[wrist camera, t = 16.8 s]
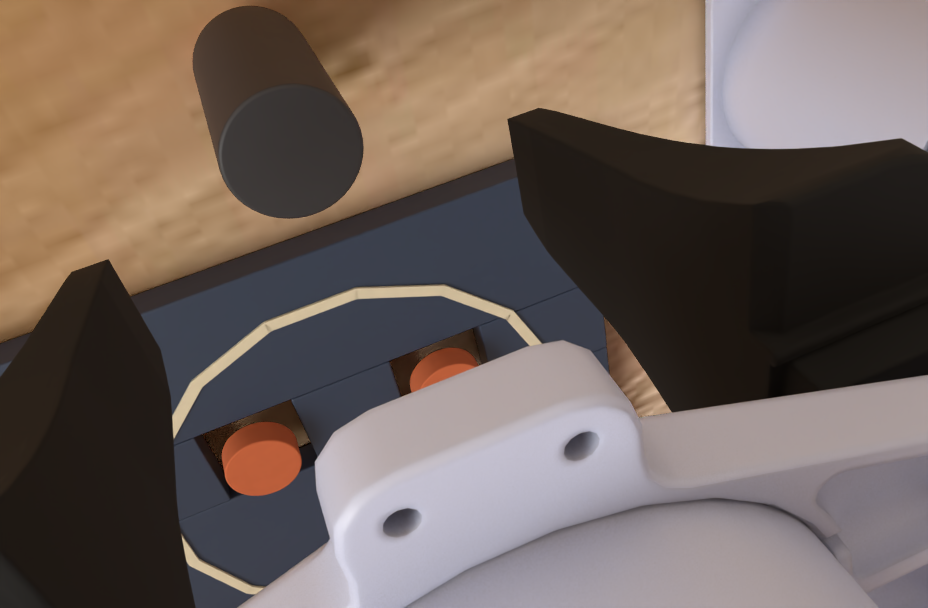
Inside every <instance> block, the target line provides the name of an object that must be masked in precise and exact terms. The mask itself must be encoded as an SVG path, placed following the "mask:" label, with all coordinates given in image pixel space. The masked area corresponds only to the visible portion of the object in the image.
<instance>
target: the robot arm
mask: <svg viewBox="0 0 928 608" xmlns="http://www.w3.org/2000/svg"><path fill="white" fill-rule="evenodd" d="M705 48H706V145H701V144H692V143H685V142H678V141H672V140H667V139H662V138H657V137H652V136H647V135H643V134H638V133H634V132H630V131H626V130H622V129H618V128H614V127H611V126H607V125H603V124H600V123H596V122H592V121H589V120H585V119H582V118H578V117H575V116H571V115H568V114H564V113H560V112H556V111H552V110H548V109H542V108H538V109H535V110H532V111H529V112H526V113H523V114H520V115H518V116H515V117H512V118H509V119H508V125H509V131H510V136H511V142H512V148H513V154H514V160H515V166H516V172H517V178H518V183H519V189H520V195H521V201H522V207H523V213H524V215H525V217H526V219H527V220H528V222H529V224H530V225H531V227H532V229H533V230H534V232H535V233H536V235H537V237H538V238H539V240H540V241H541V243H542V244H543V246H544V247H545V249H546V250H547V252H548V253H549V254H550V255H551V257H552V258H553V259H554V260H555V261H556V263H557V264H558V265H559V266H560V267H561V268H562V269H563V271H564V272H565V273H566V274H567V275H568V276H569V277H570V279H571V280H572V281H573V282H574V283H575V284H576V285H577V287H578V288H579V289H580V290H581V291H582V292H583V293H584V294H585V296H586V297H587V298H588V299H589V300H590V301H591V302H592V303H593V305H594V306H595V307H596V308H597V309H598V310H599V311H600V312H601V314H602V315H603V316H604V317H605V318H606V319H607V320H608V321H609V323H610V324H611V325H612V326H613V327H614V329H615V330H616V331H617V332H618V334H619V335H620V336H621V337H622V339H623V340H624V341H625V343H626V344H627V345H628V347H629V348H630V350H631V351H632V353H633V354H634V356H635V357H636V359H637V360H638V362H639V363H640V364H641V366H642V367H643V369H644V370H645V372H646V373H647V375H648V376H649V378H650V379H651V381H652V382H653V384H654V385H655V387H656V388H657V390H658V392H659V393H660V395H661V396H662V398H663V399H664V401H665V402H666V404H667V405H668V407H669V409H670V410H671V412H672V413H666V414H659V415H653V416H646V417H639V418H638V416H637V414H636V412H635V410H634V408H633V406H632V404H631V402H630V401H629V399H628V398H627V397H626V396H625V394H624V393H623V392H622V390H621V389H620V388H619V387H618V385H617V384H616V383H615V381H614V380H613V379H612V378H611V376H610V375H609V374H608V372H607V371H606V370H605V369H604V367H603V366H602V365H601V363H600V362H599V361H598V360H597V358H596V357H595V356H594V354H593V353H592V352H591V351H590V350H589V349H586V348H583V347H580V346H577V345H575V344H572V343H569V342H566V341H564V340H561V341H555V342H550V343H544V344H539V345H533V346H527V347H525V348H522V349H520V350H517V351H515V352H512V353H510V354H507V355H505V356H502V357H500V358H497V359H495V360H492V361H490V362H487V363H485V364H482V365H480V366H477V367H475V368H472V369H470V370H467V371H465V372H462V373H460V374H457V375H455V376H452V377H450V378H447V379H445V380H442V381H440V382H437V383H435V384H432V385H430V386H427V387H425V388H422V389H420V390H417V391H415V392H412V393H410V394H407V395H405V396H402V397H400V398H397V399H395V400H392V401H390V402H387V403H385V404H382V405H380V406H377V407H375V408H372V409H370V410H368V411H366V412H365V413H363V414H361V415H360V416H358V417H357V418H355V419H354V420H352V421H351V422H349V423H347V424H346V425H344V426H343V427H341V428H340V429H338V430H336V431H335V432H334V433H333V434H332V436H331V437H330V439H329V440H328V442H327V444H326V445H325V447H324V448H323V450H322V451H321V453H320V455H319V456H318V458H317V459H316V461H315V475H316V490H317V494H318V498H319V501H320V505H321V508H322V512H323V515H324V519H325V522H326V526H327V529H328V533H329V536H330V539H329V541H328V542H327V543H325V544H324V545H323V546H321V547H320V548H319V549H317V550H316V551H314V552H313V553H312V554H310V555H309V556H308V557H306V558H305V559H303V560H302V561H301V562H299V563H298V564H297V565H295V566H294V567H292V568H291V569H290V570H288V571H287V572H286V573H284V574H283V575H281V576H280V577H279V578H277V579H276V580H275V581H273V582H272V583H270V584H269V585H268V586H266V587H265V588H264V589H262V590H261V591H259V592H258V593H257V594H255V595H254V596H253V597H251V598H250V599H248V600H247V601H246V602H244V603H243V604H242V605H240V606H239V607H237V608H928V0H705ZM0 608H196V607H195V602H194V597H193V592H192V587H191V582H190V578H189V573H188V568H187V562H186V557H185V551H184V546H183V540H182V535H181V530H180V524H179V516H178V507H177V494H176V475H175V456H174V437H173V420H172V405H171V395H170V390H169V385H168V380H167V375H166V371H165V366H164V362H163V358H162V353H161V349H160V347H159V346H158V344H157V342H156V341H155V339H154V337H153V335H152V334H151V332H150V330H149V329H148V327H147V325H146V323H145V322H144V320H143V318H142V316H141V315H140V313H139V311H138V310H137V308H136V306H135V304H134V303H133V301H132V299H131V297H130V296H129V294H128V292H127V291H126V289H125V287H124V285H123V284H122V282H121V280H120V278H119V277H118V275H117V273H116V272H115V270H114V268H113V266H112V265H111V263H110V261H109V259H108V260H105V261H102V262H99V263H96V264H93V265H91V266H88V267H85V268H82V269H79V270H76V271H73V272H71V274H70V275H69V276H68V278H67V279H66V280H65V282H64V283H63V285H62V286H61V288H60V289H59V291H58V292H57V294H56V296H55V297H54V299H53V300H52V302H51V304H50V305H49V307H48V308H47V310H46V312H45V313H44V315H43V316H42V318H41V319H40V321H39V322H38V324H37V325H36V327H35V329H34V330H33V332H32V333H31V335H30V336H29V338H28V339H27V341H26V342H25V344H24V345H23V347H22V348H21V349H20V351H19V352H18V354H17V355H16V356H15V358H14V359H13V360H12V362H11V363H10V364H9V366H8V367H7V369H6V370H5V371H4V373H3V374H2V375H1V377H0Z"/></svg>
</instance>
